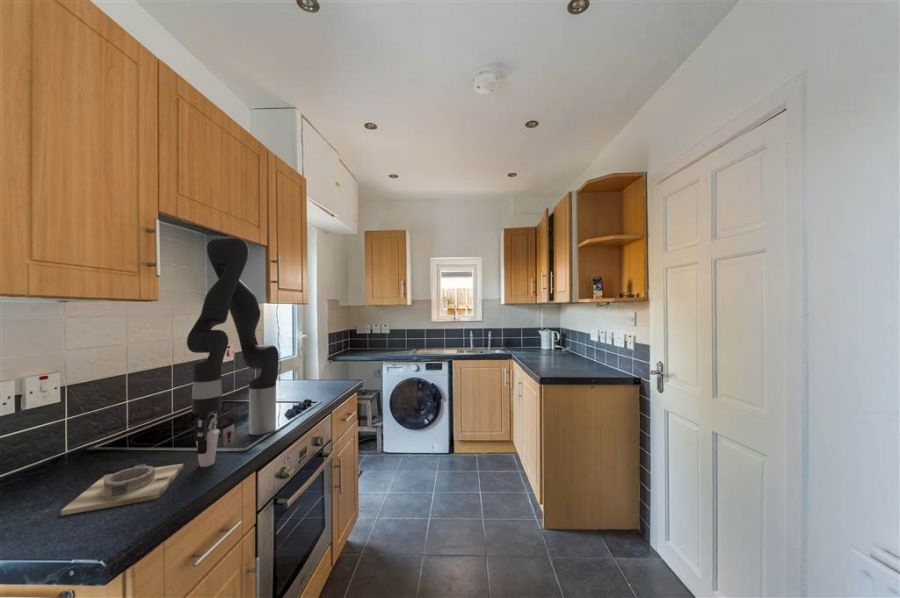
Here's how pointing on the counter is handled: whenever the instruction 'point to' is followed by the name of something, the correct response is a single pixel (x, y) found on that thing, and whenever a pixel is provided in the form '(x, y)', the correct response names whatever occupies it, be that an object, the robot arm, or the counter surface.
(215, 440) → the smoothie
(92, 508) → the holder
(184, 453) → the counter surface
